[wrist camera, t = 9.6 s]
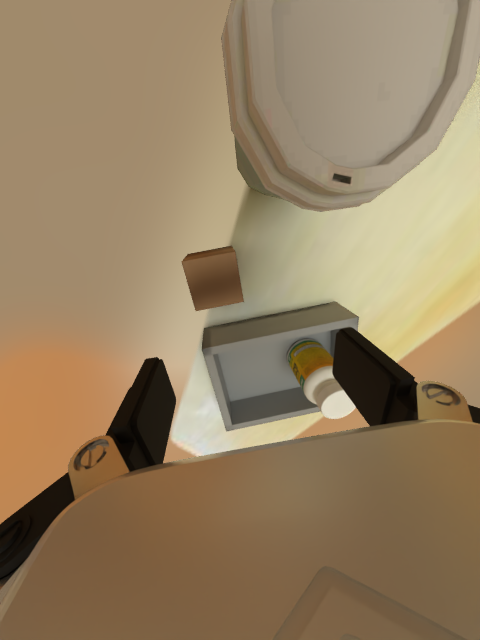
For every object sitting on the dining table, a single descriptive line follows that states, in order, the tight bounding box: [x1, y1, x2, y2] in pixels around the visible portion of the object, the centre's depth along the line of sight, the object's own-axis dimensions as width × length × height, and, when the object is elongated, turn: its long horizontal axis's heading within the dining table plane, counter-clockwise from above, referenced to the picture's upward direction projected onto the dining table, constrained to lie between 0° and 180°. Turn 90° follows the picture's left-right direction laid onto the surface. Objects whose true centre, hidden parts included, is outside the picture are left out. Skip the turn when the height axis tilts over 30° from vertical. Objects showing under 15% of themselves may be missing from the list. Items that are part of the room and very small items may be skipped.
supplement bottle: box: [287, 339, 356, 419], centre depth 26 cm, size 5×5×10 cm
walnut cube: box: [182, 246, 244, 311], centre depth 23 cm, size 5×5×5 cm
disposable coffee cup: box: [221, 0, 480, 212], centre depth 14 cm, size 11×11×15 cm
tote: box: [202, 302, 359, 431], centre depth 29 cm, size 14×18×5 cm
